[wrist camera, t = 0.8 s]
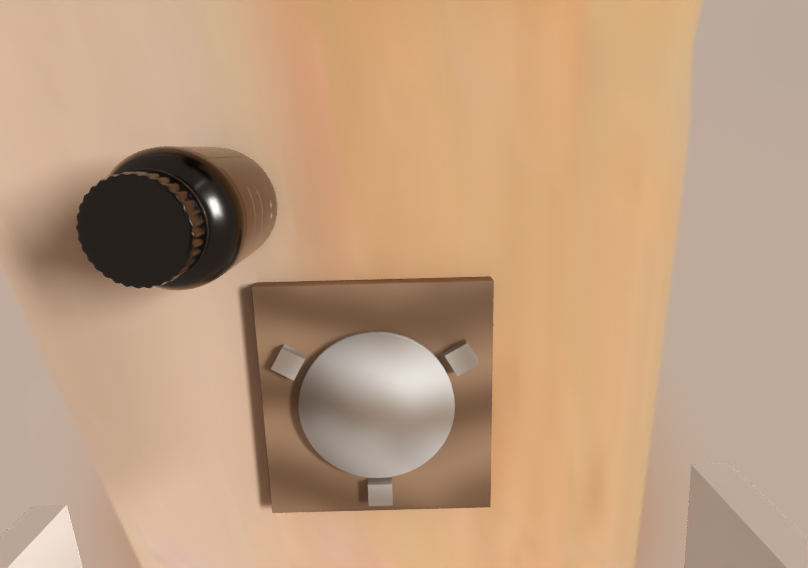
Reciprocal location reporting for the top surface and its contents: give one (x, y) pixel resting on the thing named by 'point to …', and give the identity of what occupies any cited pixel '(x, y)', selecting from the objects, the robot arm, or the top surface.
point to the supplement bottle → (176, 216)
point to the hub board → (376, 392)
